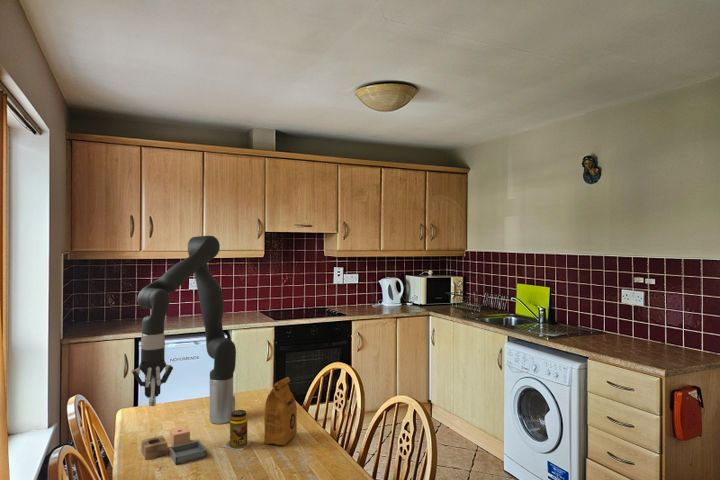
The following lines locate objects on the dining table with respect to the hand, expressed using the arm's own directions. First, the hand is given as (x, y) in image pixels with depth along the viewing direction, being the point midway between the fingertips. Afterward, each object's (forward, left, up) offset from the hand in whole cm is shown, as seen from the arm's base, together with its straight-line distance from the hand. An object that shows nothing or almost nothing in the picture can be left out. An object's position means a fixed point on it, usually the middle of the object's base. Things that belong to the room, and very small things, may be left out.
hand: (152, 396), depth 168 cm
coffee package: (-41, +15, -20) cm, 48 cm away
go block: (0, +1, -19) cm, 19 cm away
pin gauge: (0, 0, -3) cm, 3 cm away
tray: (-9, +9, -19) cm, 24 cm away
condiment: (-26, +10, -20) cm, 34 cm away
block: (-9, -1, -19) cm, 22 cm away
